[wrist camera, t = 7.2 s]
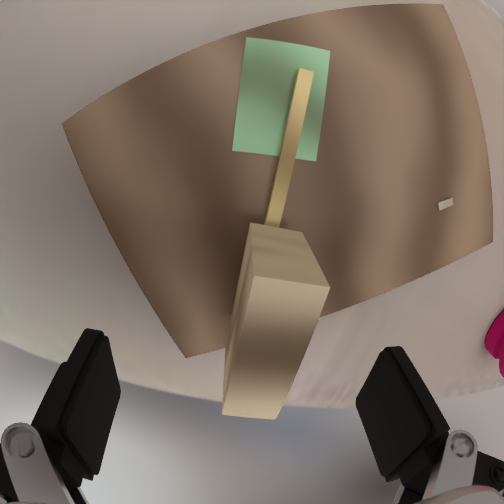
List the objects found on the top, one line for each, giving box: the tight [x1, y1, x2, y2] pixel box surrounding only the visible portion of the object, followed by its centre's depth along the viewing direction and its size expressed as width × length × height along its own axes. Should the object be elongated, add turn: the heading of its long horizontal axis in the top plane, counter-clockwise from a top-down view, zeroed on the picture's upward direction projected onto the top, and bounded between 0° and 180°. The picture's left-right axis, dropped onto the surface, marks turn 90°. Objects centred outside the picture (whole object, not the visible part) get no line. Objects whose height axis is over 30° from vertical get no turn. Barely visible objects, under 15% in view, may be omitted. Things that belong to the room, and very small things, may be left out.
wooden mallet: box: [222, 68, 330, 419], centre depth 12 cm, size 14×2×7 cm, turn 169°
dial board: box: [62, 4, 493, 358], centre depth 15 cm, size 24×17×2 cm
